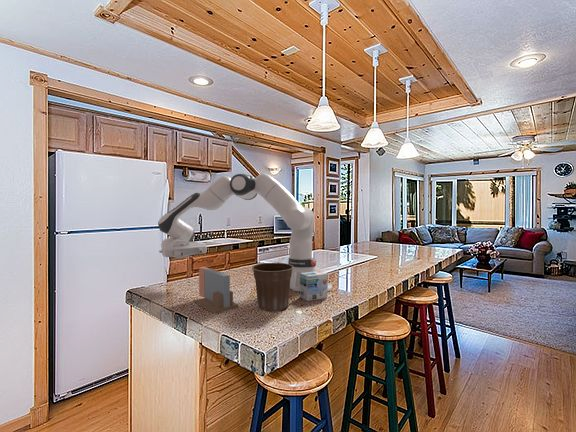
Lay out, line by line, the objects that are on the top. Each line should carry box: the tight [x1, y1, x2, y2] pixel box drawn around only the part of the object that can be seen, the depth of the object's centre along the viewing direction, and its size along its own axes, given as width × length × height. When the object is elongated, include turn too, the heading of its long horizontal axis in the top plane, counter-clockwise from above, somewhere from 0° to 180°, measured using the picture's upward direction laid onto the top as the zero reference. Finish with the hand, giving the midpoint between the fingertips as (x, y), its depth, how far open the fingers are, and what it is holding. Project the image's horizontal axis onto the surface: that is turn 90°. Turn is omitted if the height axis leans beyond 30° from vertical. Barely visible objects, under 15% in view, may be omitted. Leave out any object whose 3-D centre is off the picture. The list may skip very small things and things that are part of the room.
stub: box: [198, 266, 211, 298], centre depth 138 cm, size 5×2×12 cm, turn 41°
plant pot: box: [251, 262, 293, 312], centre depth 129 cm, size 16×16×16 cm
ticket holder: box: [195, 268, 239, 315], centre depth 130 cm, size 16×10×14 cm, turn 41°
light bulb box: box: [299, 270, 329, 302], centre depth 142 cm, size 11×7×11 cm, turn 117°
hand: (191, 252), depth 147 cm, fingers open, 8 cm apart
